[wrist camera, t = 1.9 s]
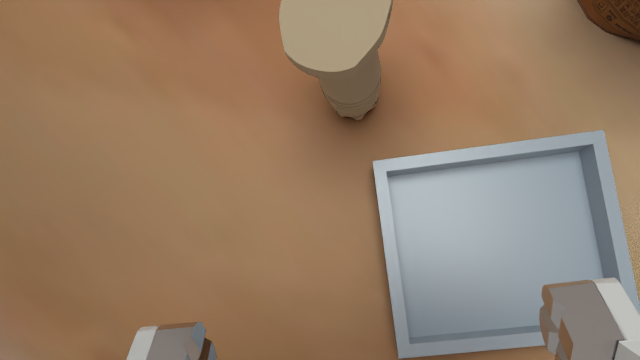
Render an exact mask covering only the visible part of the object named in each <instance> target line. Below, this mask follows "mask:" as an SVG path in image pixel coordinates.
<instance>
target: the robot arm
mask: <svg viewBox="0 0 640 360" xmlns="http://www.w3.org/2000/svg"><path fill="white" fill-rule="evenodd" d="M541 297H542V299H543V302H544V305H543V306H542V307H541V308H540V313H539V321H540V329H541V333H542V337H543V340H544V343H545V345H546V348H547V350H549V351H550V352H551V353H553V354H554V355H555V360H640V315H639V313H638V312H637V310H636V308H635V307H634V305H633V303H632V302H631V300H630V298H629V297H628V295H627V294H626V292H625V290H624V289H623V287H622V285H621V284H620V282H619V281H618V280H617V279H616V278H614V277H613V278H603V279H594V280H581V281H572V282H564V283H556V284H547V285H544V286H543V288H542V293H541ZM205 333H206V329H205V328H204V326H203V324H202V322H194V323H181V324H168V325H157V326H146V327H141V328H140V329H139V330H138V331H137V333H136V335H135V338H134V340H133V343H132V346H131V348H130V351H129V354H128V356H127V359H126V360H217V356H216V352H215V348H214V346H213V343H212V342H211V341H210V340H208V339H206V338H205Z"/></svg>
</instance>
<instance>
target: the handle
mask: <svg viewBox="0 0 640 360" xmlns="http://www.w3.org/2000/svg"><path fill="white" fill-rule="evenodd" d="M392 4H393V0H282V1H281V5H280V11H279V23H280V30H281V36H282V41H283V46H284V51H285V53H286V55H287V57H288V59H289V60H290V61H291V62H292V63H293V64H294V65H295V66H296V67H297V68H299V69H300V70H301V71H303V72H305V73H307V74H309V75H312V76H315V77H318V79H319V83H320V85H321V88H322V91H323V93H324V95H325V97H326V99H327V100H328V102H329V103H330V104H331V106H332V107H333V108H334V109H335V110H336V112H337V113H338V114H339V115H340V116H341V117H351V118H354V119H355V120H361V119H363V116H364V115H365V114H366V112H368V111H369V110H370V109H373V108H374V107H375V106H376V104H377V100H378V94H379V90H380V83H381V67H380V61H379V56H378V51H377V49H378V48H379V47H380V45H381V44H382V42H383V39H384V37H385V34H386V31H387V27H388V23H389V19H390V15H391V11H392Z"/></svg>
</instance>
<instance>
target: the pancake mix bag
mask: <svg viewBox="0 0 640 360" xmlns="http://www.w3.org/2000/svg"><path fill="white" fill-rule="evenodd" d="M578 2H579V4H580V6H581V7H582V9H583V11H584V13H585V14H586V16H587V18H588V19H589V20H590V21H592V22H593V23H595V24H596V25H597V26H599V27H600V28H601V29H603V30H604V31H605V32H608V33H612V34H615V35H619V36H622V37H626V38H630V39H634V40H637V41H640V0H578Z"/></svg>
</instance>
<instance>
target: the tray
mask: <svg viewBox="0 0 640 360" xmlns="http://www.w3.org/2000/svg"><path fill="white" fill-rule="evenodd" d="M373 168H374V175H375V183H376V191H377V198H378V206H379V213H380V221H381V228H382V236H383V243H384V251H385V259H386V266H387V274H388V281H389V289H390V296H391V304H392V312H393V319H394V327H395V334H396V342H397V349H398V357H399V359H402V358H412V357H423V356H434V355H445V354H456V353H466V352H477V351H488V350H499V349H510V348H520V347H531V346H542V345H545V343H544V340H543V337H542V333H541V329H540V321H539V313H540V308H541V307H542V306H543V305H544V302H543V299H542V297H541V293H542V288H543V286H544V285H547V284H556V283H564V282H572V281H581V280H594V279H603V278H613V277H614V278H616V279H617V280H618V281H619V282H620V284H621V285H622V287H623V289H624V290H625V292H626V294H627V295H628V297H629V298H630V300H631V302H632V303H633V305H634V307H635V308H636V310H637V312H638V313H639V315H640V304H639V299H638V294H637V289H636V284H635V279H634V274H633V269H632V264H631V260H630V255H629V250H628V245H627V240H626V235H625V230H624V225H623V220H622V216H621V211H620V206H619V201H618V196H617V191H616V186H615V181H614V176H613V172H612V167H611V162H610V157H609V152H608V147H607V142H606V137H605V132H604V130H599V131H592V132H585V133H577V134H570V135H562V136H555V137H547V138H540V139H533V140H525V141H518V142H510V143H503V144H496V145H488V146H481V147H473V148H466V149H459V150H451V151H444V152H436V153H429V154H422V155H414V156H407V157H399V158H392V159H385V160H377V161H373Z"/></svg>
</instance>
